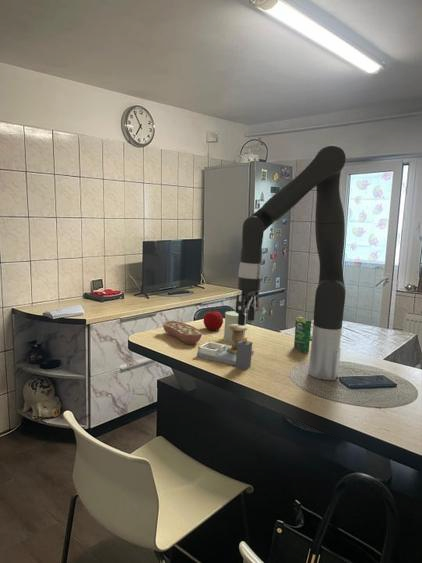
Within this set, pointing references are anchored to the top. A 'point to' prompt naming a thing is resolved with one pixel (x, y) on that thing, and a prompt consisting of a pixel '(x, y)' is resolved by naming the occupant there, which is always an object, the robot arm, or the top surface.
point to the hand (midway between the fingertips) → (246, 322)
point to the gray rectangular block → (243, 354)
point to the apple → (213, 320)
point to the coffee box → (302, 334)
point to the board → (217, 353)
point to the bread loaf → (182, 331)
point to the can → (230, 318)
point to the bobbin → (236, 336)
